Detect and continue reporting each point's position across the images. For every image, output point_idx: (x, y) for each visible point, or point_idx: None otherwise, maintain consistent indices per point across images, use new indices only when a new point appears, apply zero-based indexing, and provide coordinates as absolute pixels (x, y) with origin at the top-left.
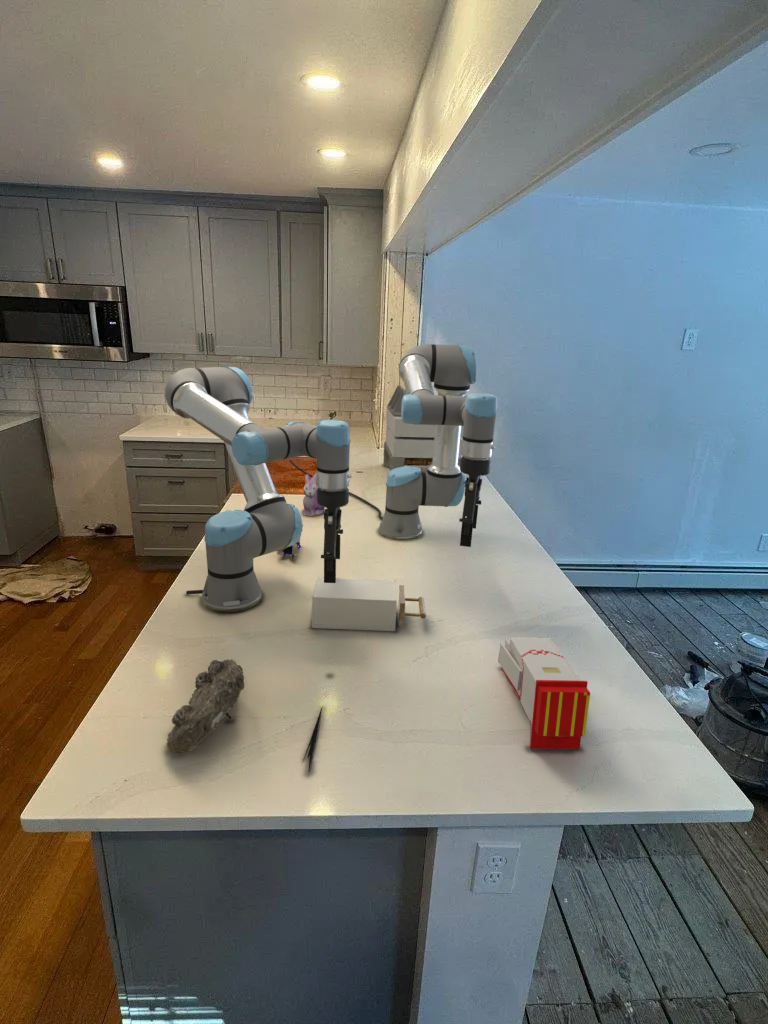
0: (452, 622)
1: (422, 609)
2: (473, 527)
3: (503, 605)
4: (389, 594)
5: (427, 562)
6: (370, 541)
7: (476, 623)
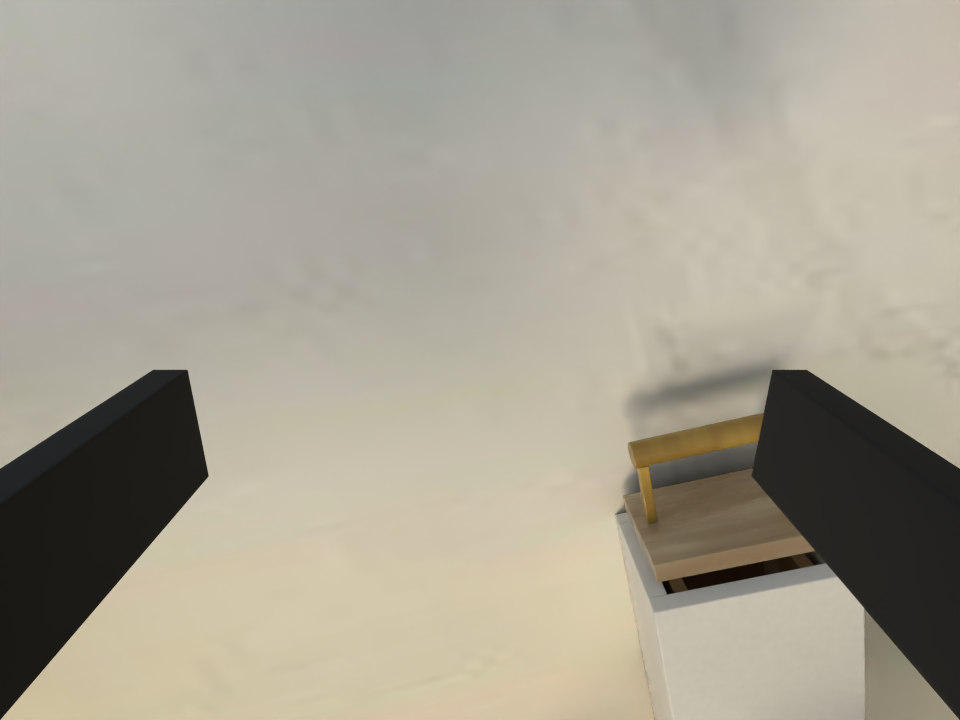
0: (668, 284)
1: (757, 436)
2: (188, 402)
3: (430, 42)
4: (808, 609)
5: None
6: (55, 713)
7: (654, 174)
